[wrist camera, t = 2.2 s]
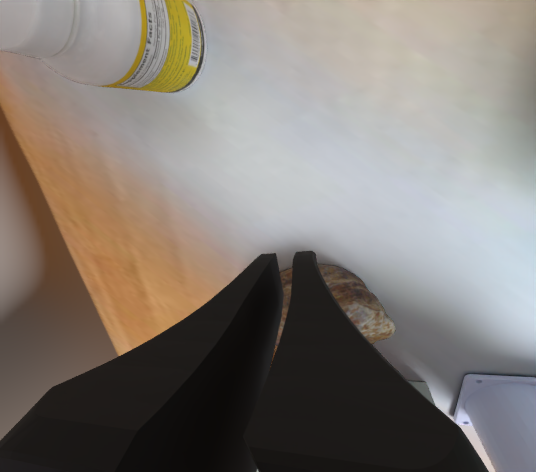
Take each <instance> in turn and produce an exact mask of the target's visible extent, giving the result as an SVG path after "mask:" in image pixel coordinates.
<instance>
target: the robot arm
mask: <svg viewBox="0 0 536 472" xmlns="http://www.w3.org/2000/svg"><path fill="white" fill-rule="evenodd" d="M283 297H284V292H283V287H282V282H281V277H280V272H279V267H278V262H277V257H276V253H274V254H261V255H260V256H259V257H257V258H256V259H255V260H254V261H253V262H252V263H251V264H250V265H249V266H248V267H247V268H246V269H245V270H244V271H243V272H242V273H241V274H239V275H238V276H237V277H236V278H235V279H234V280H233V281H232V282H231V283H230V284H229V285H227V286H226V287H225V288H224V289H223V290H221V291H220V292H219V293H218V294H217V295H216V296H214V297H213V298H212V299H211V300H210V301H208V302H207V303H206V304H204V305H203V306H202V307H200V308H199V309H198V310H196V311H195V312H193V313H192V314H191V315H189V316H188V317H186V318H185V319H183V320H182V321H180V322H179V323H177V324H175V325H174V326H172V327H170V328H169V329H167V330H166V331H164V332H162V333H161V334H159V335H157V336H156V337H154V338H152V339H151V340H149V341H147V342H145V343H144V344H142V345H140V346H138V347H136V348H134V349H132V350H131V351H129V352H127V353H125V354H123V355H121V356H119V357H117V358H115V359H113V360H111V361H109V362H107V363H105V364H103V365H101V366H98V367H96V368H94V369H92V370H90V371H87V372H85V373H83V374H81V375H79V376H76V377H74V378H72V379H70V380H68V381H65V382H63V383H61V384H58V385H56V386H54V387H52V388H51V389H50V390H49V391H48V392H47V393H46V394H45V395H44V396H43V397H42V398H41V399H40V400H39V401H38V402H37V403H36V404H35V406H33V407H32V408H31V409H30V411H29V412H28V413H27V414H26V415H25V416H24V417H23V418H22V419H21V420H20V421H19V422H18V423H17V424H16V425H15V426H14V427H13V428H12V429H11V430H10V431H9V432H8V434H6V436H4V438H3V439H2V440H1V441H0V472H257V469H258V471H259V472H489V471H488V470H487V468H486V466H485V465H484V463H483V461H482V460H481V458H480V457H479V455H478V454H477V452H476V450H475V449H474V447H473V446H472V444H471V443H470V441H469V440H468V438H467V437H466V435H465V434H464V432H463V431H462V429H461V428H460V427H459V426H458V425H457V424H459V425H469V426H473V427H474V429H475V431H476V433H477V435H478V437H479V439H480V441H481V443H482V445H483V447H484V449H485V451H486V453H487V455H488V457H489V459H490V461H491V463H492V465H493V467H494V469H495V471H496V472H536V377H517V376H497V375H478V374H468V375H466V376H465V377H464V380H463V384H462V388H461V392H460V395H459V399H458V403H457V407H456V410H455V414H454V418H453V419H454V421H455V423H454V422H453V421H452V420H451V419H450V418H449V417H447V416H446V415H445V414H444V413H443V412H442V411H441V410H439V409H438V408H437V407H436V406H435V405H434V404H433V403H431V402H430V401H429V400H428V399H427V398H426V397H425V396H424V395H423V394H421V393H420V392H419V391H418V390H417V389H416V388H415V387H414V386H413V385H412V384H410V383H409V382H408V381H407V380H406V379H405V378H404V377H403V376H402V375H401V374H400V373H399V372H398V371H397V370H396V369H395V368H394V367H393V366H392V365H391V364H390V363H389V362H388V361H387V360H386V359H385V358H384V357H383V356H382V355H381V354H380V353H379V352H378V350H377V349H376V348H375V347H374V346H373V345H372V344H371V343H370V342H369V341H368V340H367V339H366V338H365V337H364V335H363V334H362V333H361V332H360V331H359V330H358V328H357V327H356V326H355V325H354V323H353V322H352V321H351V320H350V318H349V317H348V316H347V315H346V313H345V312H344V311H343V309H342V308H341V306H340V305H339V303H338V302H337V300H336V299H335V297H334V296H333V294H332V293H331V291H330V289H329V288H328V286H327V284H326V282H325V280H324V278H323V276H322V274H321V272H320V270H319V267H318V265H317V262H316V254H315V253H314V252H313V251H304V252H296V254H295V256H294V259H293V268H292V285H291V297H290V304H289V308H288V312H287V316H286V320H285V324H284V327H283V331H282V334H281V337H280V341H279V344H278V347H277V350H276V353H275V356H274V359H273V362H272V365H271V361H272V357H273V353H274V348H275V344H276V340H277V335H278V331H279V326H280V322H281V317H282V308H283ZM270 366H271V368H270ZM269 370H270V371H269Z"/></svg>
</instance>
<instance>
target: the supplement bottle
mask: <svg viewBox="0 0 536 472" xmlns="http://www.w3.org/2000/svg"><path fill="white" fill-rule="evenodd" d="M0 50H1V51H6V52H11V53H16V54H21V55H25V56H29V57H34V58H39V59H40V60H41V61H42V62H43V63H44V64H46V65H47V66H48V67H49V68H51V69H52V70H54V71H55V72H57V73H58V74H60V75H62V76H64V77H66V78H68V79H70V80H72V81H75V82H78V83H82V84H87V85H94V86H102V87H113V88H124V89H135V90H145V91H156V92H169V93H174V92H180V91H183V90H185V89H187V88H189V87H190V86H191V85H193V84H194V83H195V82H196V80H197V79H198V78H199V76H200V74H201V72H202V70H203V68H204V65H205V60H206V54H207V40H206V33H205V28H204V24H203V21H202V18H201V16H200V14H199V12H198V10H197V8H196V6H195V5H194V3H193V2H192V0H0Z"/></svg>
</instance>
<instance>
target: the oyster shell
mask: <svg viewBox="0 0 536 472" xmlns="http://www.w3.org/2000/svg"><path fill="white" fill-rule="evenodd" d="M318 267H319V270H320V272H321V274H322V276H323V278H324V280H325V282H326V284H327V286H328V288H329V289H330V291H331V293H332V294H333V296H334V297H335V299H336V300H337V302H338V303H339V305H340V306H341V308H342V309H343V311H344V312H345V313H346V315H347V316H348V317H349V318H350V320H351V321H352V322H353V323H354V325H355V326H356V327H357V328H358V330H359V331H360V332H361V333H362V334H363V335H364V337H365V338H366V339H367V340H368V341H369V342H370V343H371V344H373V343H375V342H376V341H377V340H383V339H387V338H390V337H391V336H392V335H393V334H394V332H395V325H394V323H393V321H392V320H391V319H390V318H389V317H388V316H387V315H386V314H385V311H384V308H383V307H382V305H381V304H380V303H379V301H378V299H377V297H376V296H375V295H374V294H373V293H370V292H369V291H368V289H367V288H366V286H365V284H364V282H363V281H362V280H361V279H359V278H358V277H357V276H356V275H354V274H353V273H351V272H348V271H347V270H345V269H342V268H340V267H336V266H331V265H324V264H318ZM280 277H281V282H282V287H283V292H284V297H283V308H282V317H281V322H280V326H279V331H278V335H277V340H276V344H275V345H277V346H278V344H279V341H280V337H281V334H282V331H283V327H284V324H285V320H286V316H287V312H288V308H289V304H290V297H291V285H292V268H290V269H288V270H286V271H282V272H280Z"/></svg>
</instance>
